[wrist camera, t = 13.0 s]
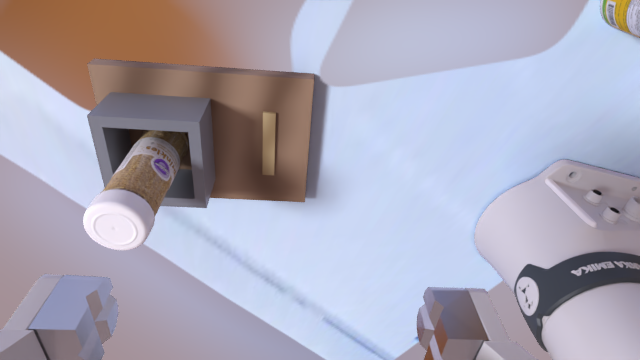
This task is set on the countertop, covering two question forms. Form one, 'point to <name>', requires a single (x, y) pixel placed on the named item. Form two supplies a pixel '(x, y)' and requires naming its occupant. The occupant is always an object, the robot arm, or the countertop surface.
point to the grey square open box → (161, 115)
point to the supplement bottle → (622, 15)
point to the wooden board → (232, 121)
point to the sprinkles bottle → (136, 191)
